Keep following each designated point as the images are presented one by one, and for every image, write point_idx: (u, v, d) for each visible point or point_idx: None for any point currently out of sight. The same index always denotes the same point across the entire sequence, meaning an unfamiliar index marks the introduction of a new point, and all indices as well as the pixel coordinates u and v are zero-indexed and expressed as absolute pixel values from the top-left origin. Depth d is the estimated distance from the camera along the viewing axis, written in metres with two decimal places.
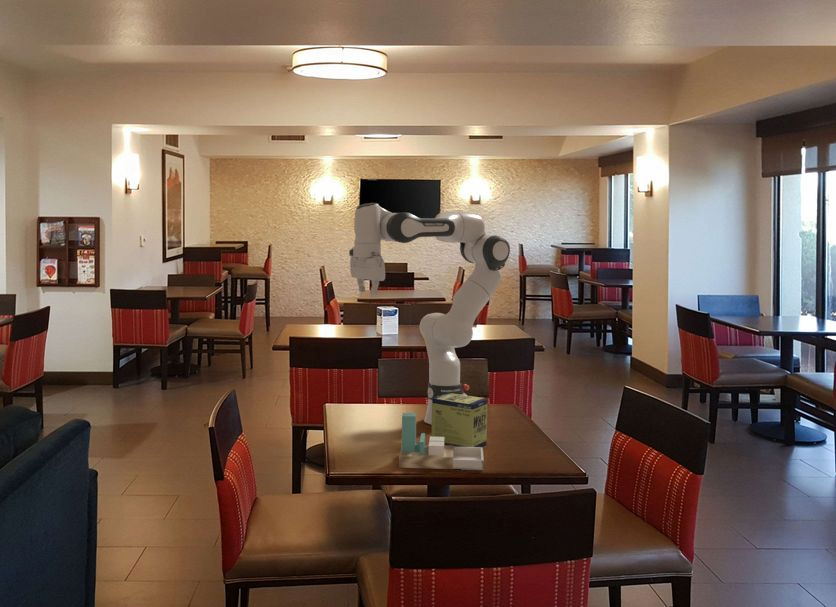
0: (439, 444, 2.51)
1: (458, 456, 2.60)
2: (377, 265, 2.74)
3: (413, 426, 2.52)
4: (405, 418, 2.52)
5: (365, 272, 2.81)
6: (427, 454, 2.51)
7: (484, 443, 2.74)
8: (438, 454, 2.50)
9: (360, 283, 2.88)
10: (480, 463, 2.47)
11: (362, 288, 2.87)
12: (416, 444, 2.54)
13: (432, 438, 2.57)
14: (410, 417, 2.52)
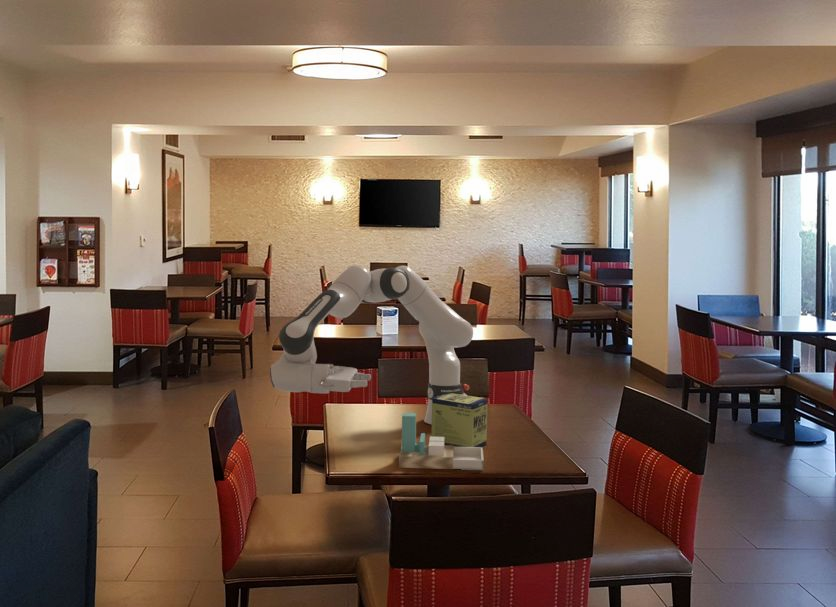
0: (439, 444, 2.51)
1: (458, 456, 2.60)
2: (331, 388, 2.45)
3: (413, 426, 2.52)
4: (405, 418, 2.52)
5: None
6: (427, 454, 2.51)
7: (484, 443, 2.74)
8: (438, 454, 2.50)
9: (361, 377, 2.59)
10: (480, 463, 2.47)
11: (366, 378, 2.58)
12: (416, 444, 2.54)
13: (432, 438, 2.57)
14: (410, 417, 2.52)
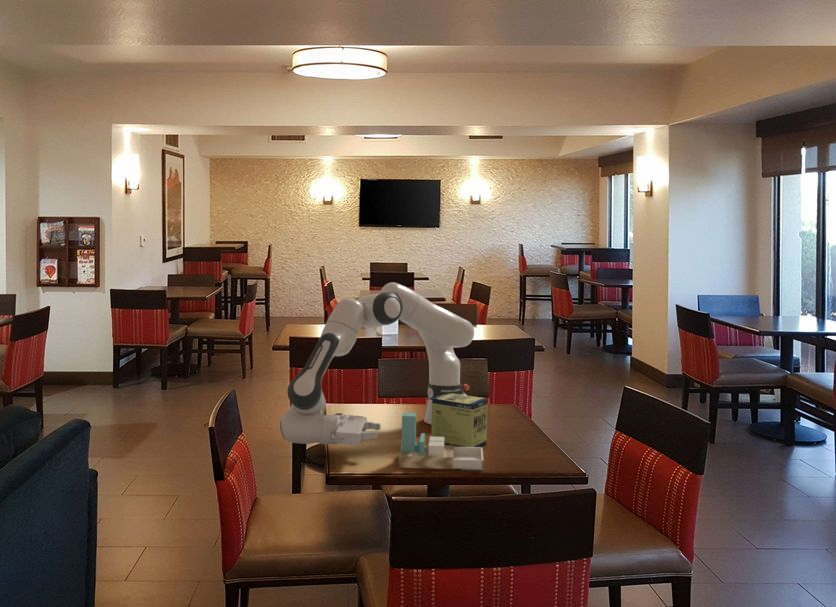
0: (439, 444, 2.51)
1: (458, 456, 2.60)
2: (342, 441, 2.46)
3: (413, 426, 2.52)
4: (405, 418, 2.52)
5: None
6: (427, 454, 2.51)
7: (484, 443, 2.74)
8: (438, 454, 2.50)
9: (371, 426, 2.61)
10: (480, 463, 2.47)
11: (376, 427, 2.59)
12: (416, 444, 2.54)
13: (432, 438, 2.57)
14: (410, 417, 2.52)
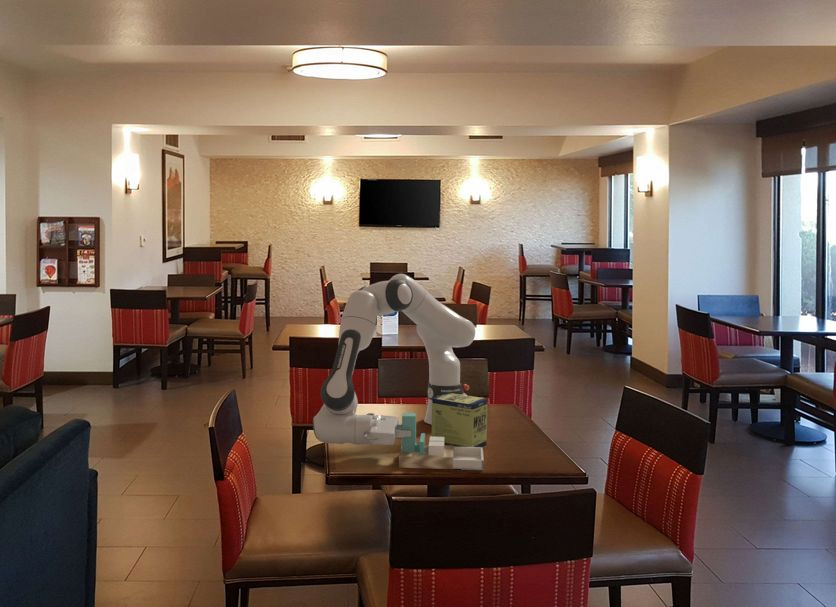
0: (439, 444, 2.51)
1: (458, 456, 2.60)
2: (376, 441, 2.46)
3: (413, 426, 2.52)
4: (405, 418, 2.52)
5: None
6: (427, 454, 2.51)
7: (484, 443, 2.74)
8: (438, 454, 2.50)
9: None
10: (480, 463, 2.47)
11: None
12: (416, 444, 2.54)
13: (432, 438, 2.57)
14: (410, 417, 2.52)
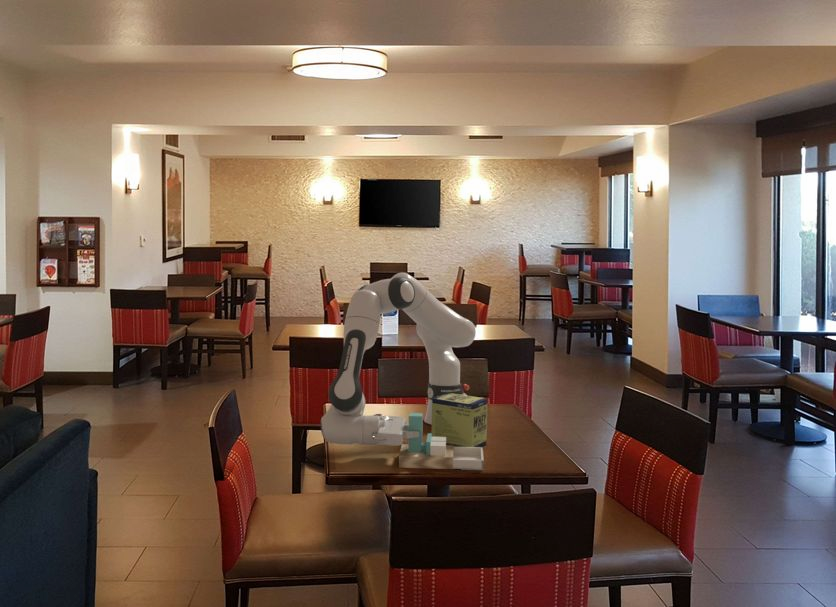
0: (441, 444, 2.51)
1: (458, 456, 2.60)
2: (384, 442, 2.46)
3: (420, 426, 2.52)
4: (412, 418, 2.52)
5: None
6: None
7: (484, 443, 2.74)
8: (440, 454, 2.50)
9: None
10: (480, 463, 2.47)
11: None
12: (423, 444, 2.54)
13: (434, 438, 2.57)
14: (417, 417, 2.52)
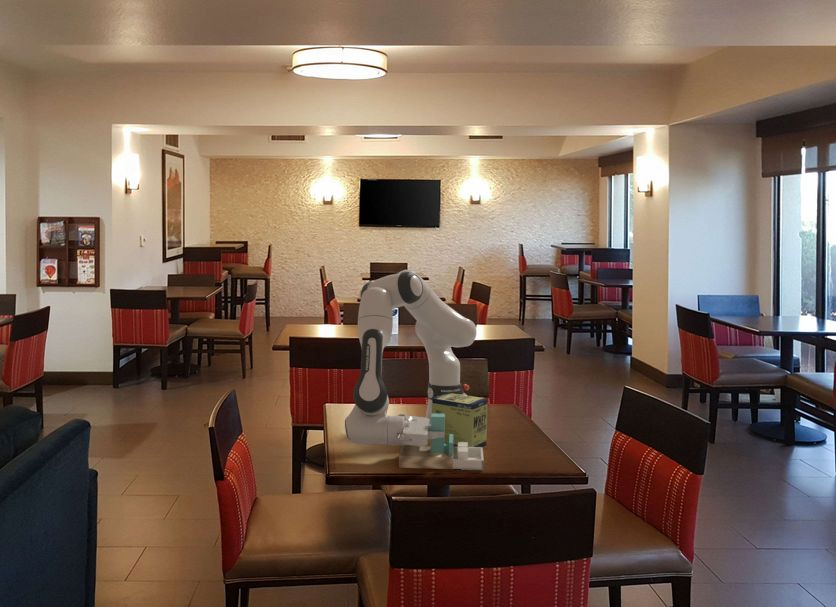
0: None
1: None
2: (409, 443, 2.45)
3: (442, 427, 2.52)
4: (434, 419, 2.52)
5: None
6: (427, 454, 2.51)
7: (484, 443, 2.74)
8: None
9: None
10: (480, 463, 2.47)
11: None
12: (445, 445, 2.54)
13: None
14: (439, 418, 2.52)
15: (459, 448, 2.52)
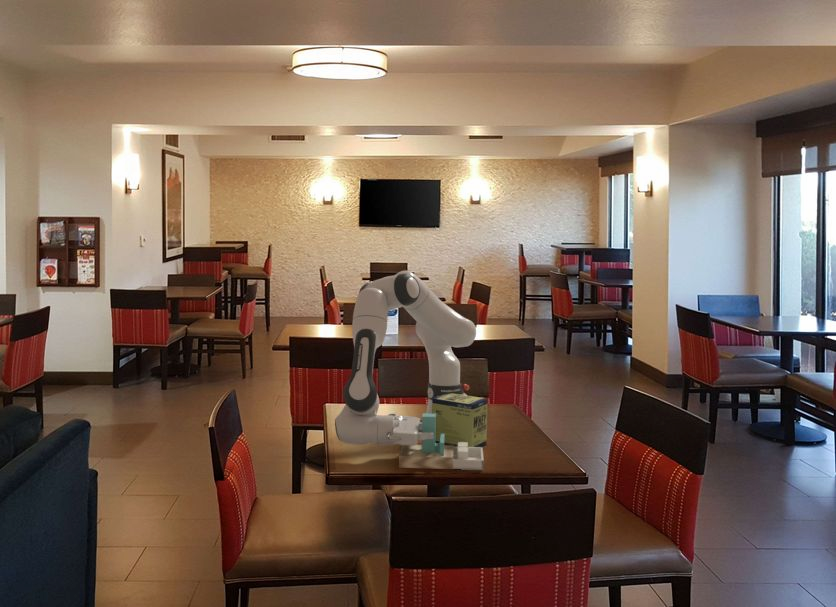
0: None
1: None
2: (399, 442, 2.45)
3: (433, 427, 2.52)
4: (425, 418, 2.52)
5: None
6: (427, 454, 2.51)
7: (484, 443, 2.74)
8: None
9: None
10: (480, 463, 2.47)
11: None
12: (436, 445, 2.54)
13: None
14: (430, 418, 2.52)
15: (459, 448, 2.52)
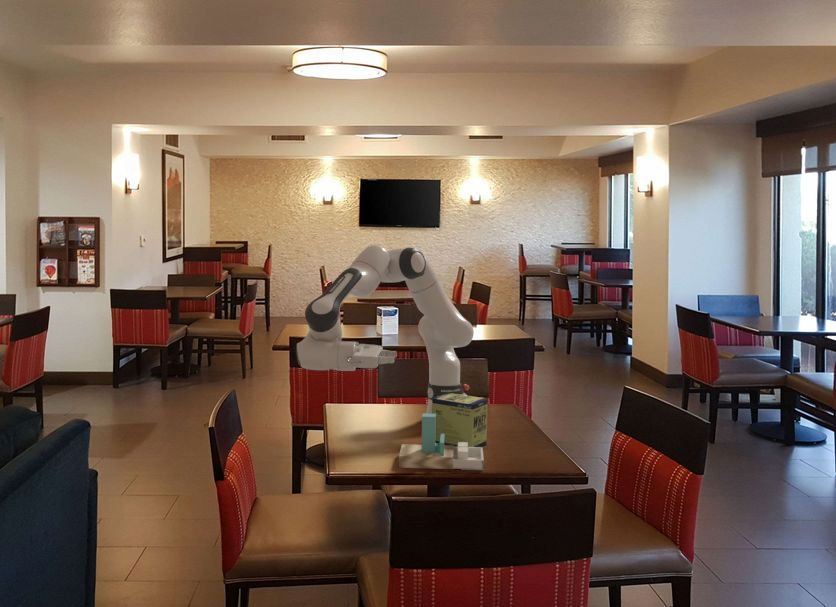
0: None
1: None
2: (359, 365, 2.43)
3: (433, 427, 2.52)
4: (425, 418, 2.52)
5: None
6: (427, 454, 2.51)
7: (484, 443, 2.74)
8: None
9: (387, 354, 2.58)
10: (480, 463, 2.47)
11: (392, 355, 2.56)
12: (436, 445, 2.54)
13: None
14: (430, 418, 2.52)
15: (459, 448, 2.52)
